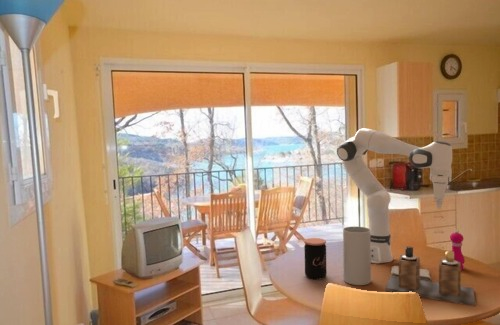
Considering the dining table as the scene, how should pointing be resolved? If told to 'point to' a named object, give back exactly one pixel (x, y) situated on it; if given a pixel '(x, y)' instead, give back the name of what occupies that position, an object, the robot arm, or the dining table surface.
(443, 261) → the plunger right
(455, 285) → the grey holder stand
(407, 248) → the plunger left
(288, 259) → the dining table surface
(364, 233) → the cylinder vase
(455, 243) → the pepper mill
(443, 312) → the dining table surface
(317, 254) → the coffee jar
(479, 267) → the dining table surface
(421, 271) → the washcloth
